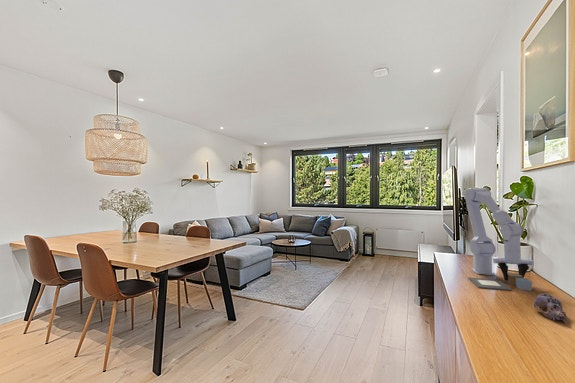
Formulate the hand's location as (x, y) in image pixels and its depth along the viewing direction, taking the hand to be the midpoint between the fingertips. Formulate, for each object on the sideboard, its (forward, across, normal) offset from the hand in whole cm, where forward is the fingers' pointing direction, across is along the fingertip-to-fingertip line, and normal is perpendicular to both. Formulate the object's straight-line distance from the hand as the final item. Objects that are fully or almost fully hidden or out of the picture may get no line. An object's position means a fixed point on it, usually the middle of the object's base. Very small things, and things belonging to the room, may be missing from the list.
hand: (513, 279), depth 121 cm
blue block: (+2, +1, -7) cm, 7 cm away
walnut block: (+1, 0, 0) cm, 1 cm away
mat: (+1, -11, -5) cm, 12 cm away
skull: (+2, -3, -36) cm, 36 cm away
